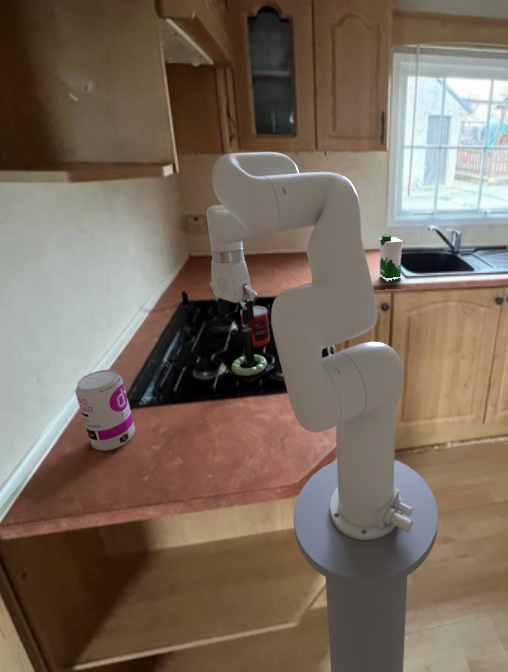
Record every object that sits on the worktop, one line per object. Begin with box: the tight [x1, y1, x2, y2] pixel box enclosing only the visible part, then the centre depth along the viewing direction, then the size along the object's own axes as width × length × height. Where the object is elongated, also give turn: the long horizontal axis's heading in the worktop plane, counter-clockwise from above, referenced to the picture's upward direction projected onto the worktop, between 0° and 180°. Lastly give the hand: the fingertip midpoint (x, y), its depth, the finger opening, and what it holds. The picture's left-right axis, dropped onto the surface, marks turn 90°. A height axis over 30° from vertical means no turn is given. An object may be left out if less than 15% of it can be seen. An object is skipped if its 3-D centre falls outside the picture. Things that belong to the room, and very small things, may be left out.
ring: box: [231, 354, 268, 376], centre depth 112 cm, size 9×9×2 cm
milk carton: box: [378, 234, 403, 282], centre depth 181 cm, size 9×9×20 cm
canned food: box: [240, 305, 271, 349], centre depth 127 cm, size 8×8×11 cm
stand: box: [226, 328, 276, 387], centre depth 110 cm, size 9×9×13 cm
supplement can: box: [75, 369, 136, 451], centre depth 85 cm, size 8×8×15 cm
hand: (236, 317), depth 108 cm, fingers open, 9 cm apart
